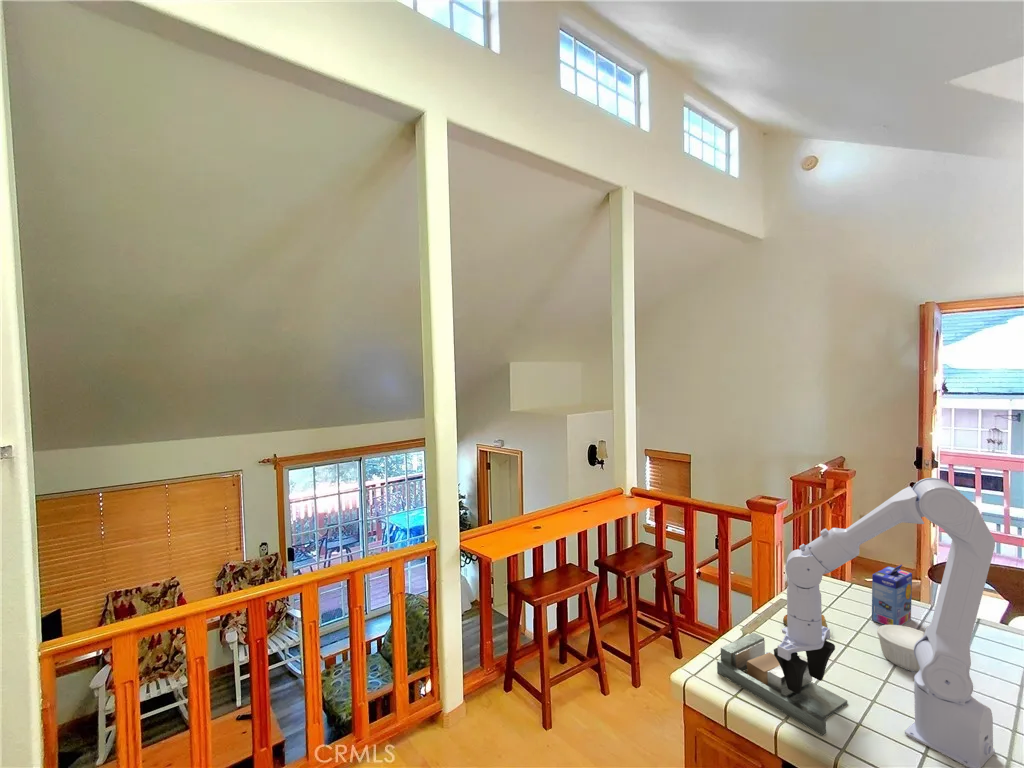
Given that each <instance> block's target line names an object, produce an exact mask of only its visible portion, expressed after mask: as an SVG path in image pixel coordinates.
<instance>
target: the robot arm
mask: <svg viewBox="0 0 1024 768" xmlns="http://www.w3.org/2000/svg"><path fill="white" fill-rule="evenodd" d="M923 518H926V519H927V520H928V521H929V522H931V523H932V524H934V525H936V526H937V527H939V528H941V529H942V530H943V531H944V532H945V533H946V534H947V535H948V537H949V538H950V539H951V542H950V543H951V544H950V547H949V552H948V556H947V559H946V562H945V568H944V571H943V575H942V579H941V583H940V587H939V591H938V595H937V599H936V604H935V607H934V611H933V615H932V619H931V623H930V624H929V625H928V626H926V628H925V631H924V632H925V634H924V636H923V637H922V638H921V639H919V640H918V641H917V642H916V643H915V645H914V655H915V657H916V659H917V661H918V664H919V667H920V670H919V671H918V672H916V673H915V674H914V677H913V681H914V683H913V684H914V685H913V686H914V687H913V689H914V692H913V693H914V696H913V697H914V721H913V723H911V724H910V726H908V727H907V728H906V729H905V730H904V734H905V735H906V736H908V737H909V738H912V739H914V740H915V741H918V742H919V743H921V744H924V745H925V746H926V747H929V748H931V749H932V750H934V751H936V752H938V753H940V754H942V755H944V756H946V757H948V758H950V759H952V760H954V761H955V762H958V764H959V763H960V764H961V765H963V766H965V767H967V768H982V767H983V766H984V765H985V764H986V762H988V760H989V759H990V758H991V757H992V756H993V755H994V754H995V753H996V750H995V748H994V723H993V722H994V721H993V720H994V719H993V713H992V709H991V708H990V707H988V706H987V705H985V704H984V703H982V702H980V701H978V700H977V699H976V698H974V696H972V694H973V693H974V683H973V680H972V678H971V675H970V671H971V670H970V669H971V665H972V661H971V660H972V659H971V658H972V657H971V650H970V648H971V647H970V643H971V640H972V635H973V632H974V628H975V623H976V621H977V617H978V612H979V608H980V605H981V602H982V597H983V593H984V589H985V586H986V582H987V579H988V574H989V570H990V568H991V562H992V559H993V555H994V551H995V547H996V540H995V538H994V536H993V534H992V532H991V531H990V528H989V527H988V525H987V523H986V522H985V519H984V518H983V517H982V515H981V513H980V510H979V508H978V506H976V504H974V503H973V502H972V501H971V500H970V499H968V497H966V496H965V494H963V493H961V492H960V491H959V490H958V489H957V488H956V487H955V486H954V485H952V484H951V483H949V482H948V481H946V480H944V479H942V478H938V477H926V478H923V479H920V480H918V481H917V482H915V483H914V484H913V486H910V485H909V486H907V487H905V488H903V489H900V491H898V492H897V493H895V494H894V495H892V496H891V497H889V498H888V499H886V500H885V501H883V502H882V503H881V504H880V505H878V506H876V507H875V508H874V509H872V510H871V511H870V512H868V513H867V514H865V515H863V516H862V517H861V518H859V519H858V520H856V521H855V522H854V523H852V524H851V525H849V526H848V527H847V528H839V527H832V528H831V529H829V530H828V528H823V529H822V530H821V531H820V536H818V537H816V538H815V539H814V540H812V541H810V542H809V543H807V544H804V543H802V544H801V545H799V548H798V549H794V550H792V551H790V553H789V554H788V555H787V559H786V564H785V573H786V575H787V580H786V584H787V587H786V615H787V625H786V626H785V627H783V628H781V634H784V636H783V638H782V641H781V642H780V644H778V645H777V647H776V648H774V649H773V654H774V656H775V657H776V659H777V660H778V662H779V664H780V666H781V668H782V671H783V674H784V677H785V680H786V684H787V687H788V689H789V690H791V691H793V692H795V693H796V694H800V693H801V689H802V681H803V675H804V671H805V669H806V667H807V665H808V671H809V674H810V676H812V678H814V679H816V680H818V681H819V682H820V681H823V679H824V675H825V672H826V669H827V664H828V662H829V660H830V658H831V656H832V654H833V652H835V650H836V645H835V644H834V643H832V642H831V641H828V640H830V639H831V629H830V628H826V627H824V626H822V615H823V614H822V592H821V591H820V584H821V582H822V579H823V576H824V575H825V574H829V573H831V572H833V571H835V570H836V569H838V568H840V567H841V566H843V565H844V564H846V563H848V562H850V561H852V560H853V559H854V558H857V557H858V556H860V546H861V545H862V544H864V543H866V542H868V541H870V540H871V539H873V538H875V537H877V536H878V535H879V536H880V534H883V533H884V532H886V531H888V530H890V529H892V528H894V527H896V526H897V525H900V524H902V523H905V524H915V525H916V524H917V525H924V524H925V522H924V520H923ZM800 652H805V654H806V655H805V656H806V659H807V662H806V661H804V660H802V659H800V658H799V656H798V655H799V654H798V653H800Z"/></svg>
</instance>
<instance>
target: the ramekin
mask: <svg viewBox="0 0 1024 768" xmlns="http://www.w3.org/2000/svg"><path fill="white" fill-rule="evenodd" d="M876 632H877V633H876V634H877V636H878V639H879V643H880V648H881V649H880V650H881V652H882V655H884V657H885V659H887V660H888V661H889V662H890V663H892V664H894V665H896V666H897V667H900V668H902V669H903V670H904V669H905V670H907V671H910V672H914V673H918V671H919V670H920V667H919V664H918V661H917V659H916V657H915V655H914V645H915V643H916V642H917V641H918V640H919V639H921V638H922V637H923V636H924V634H925V631H922V630H920V629H916V628H913V627H910V626H905V625H902V626H900V625H880V626H879V627H878V628H877V630H876Z"/></svg>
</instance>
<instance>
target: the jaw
mask: <svg viewBox="0 0 1024 768" xmlns="http://www.w3.org/2000/svg"><path fill="white" fill-rule="evenodd" d="M798 656H799V658H800V659H802V660H804V661H806V662H807V657H805V656H802V655H801V654H798ZM809 682H813V677H812V676H810V674H809V671H808V665H807V667H806V669H805V671H804V675H803V681H802V687H803V686H804V685H806V684H808V683H809ZM768 686H769V687H770V688H772V689H774V690H776V691H777V692H779V693H781V694H783V695H784V696H787V695H789V694H791V693H793V691H791V690H789V689H788V687H787V684H786V680H785V677H784V674H783V671H782V668H781V666H780V665H779V666H778V667H776V668H774V669H772V670H770V671H768Z"/></svg>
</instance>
